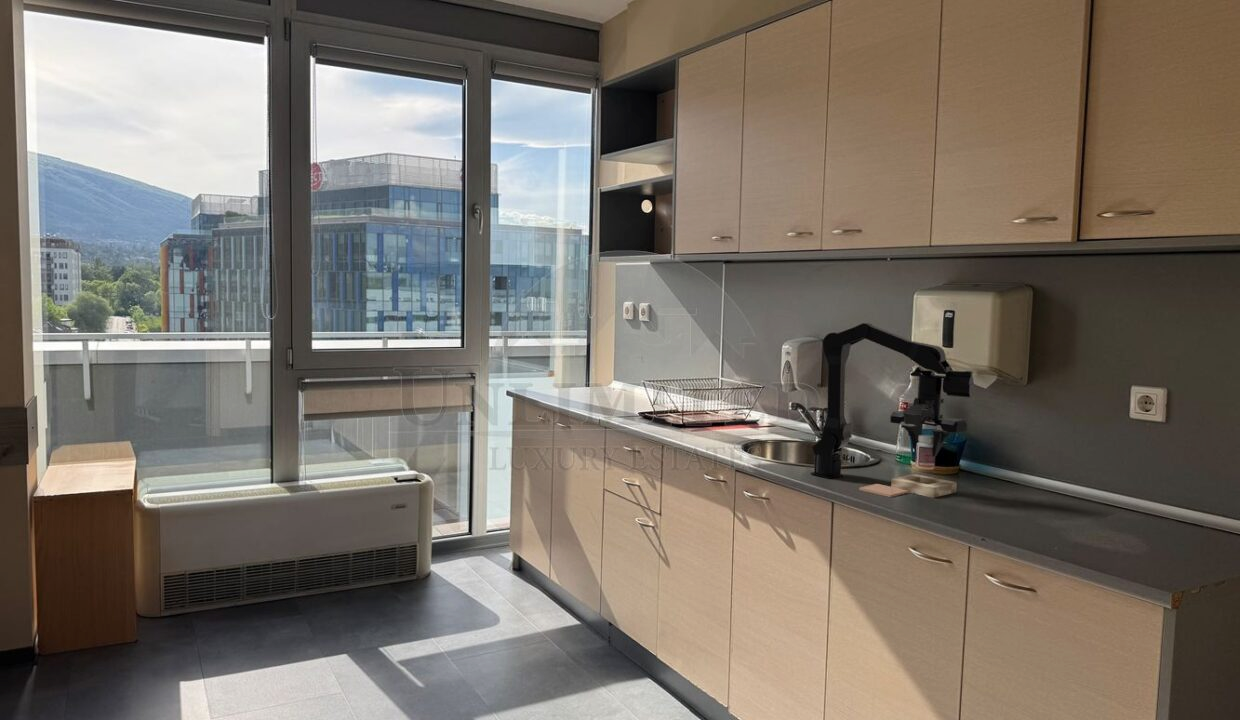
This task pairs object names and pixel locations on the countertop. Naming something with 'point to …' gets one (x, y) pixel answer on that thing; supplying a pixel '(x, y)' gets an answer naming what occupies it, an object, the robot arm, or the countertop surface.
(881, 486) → the terracotta tile
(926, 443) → the pill bottle
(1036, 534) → the countertop surface
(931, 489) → the frame block
